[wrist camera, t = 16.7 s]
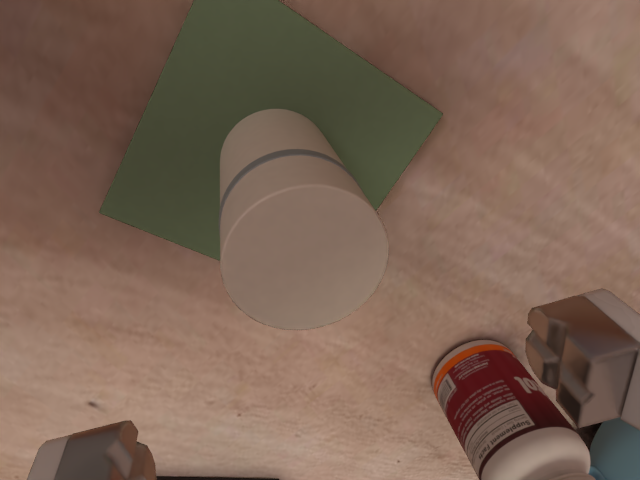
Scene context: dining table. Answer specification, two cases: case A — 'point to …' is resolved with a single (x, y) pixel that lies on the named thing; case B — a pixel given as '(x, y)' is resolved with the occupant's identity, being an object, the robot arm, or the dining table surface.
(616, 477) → the teapot
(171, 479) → the black keepsake box
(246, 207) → the container
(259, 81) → the mat
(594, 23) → the dining table surface
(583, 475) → the pill bottle
